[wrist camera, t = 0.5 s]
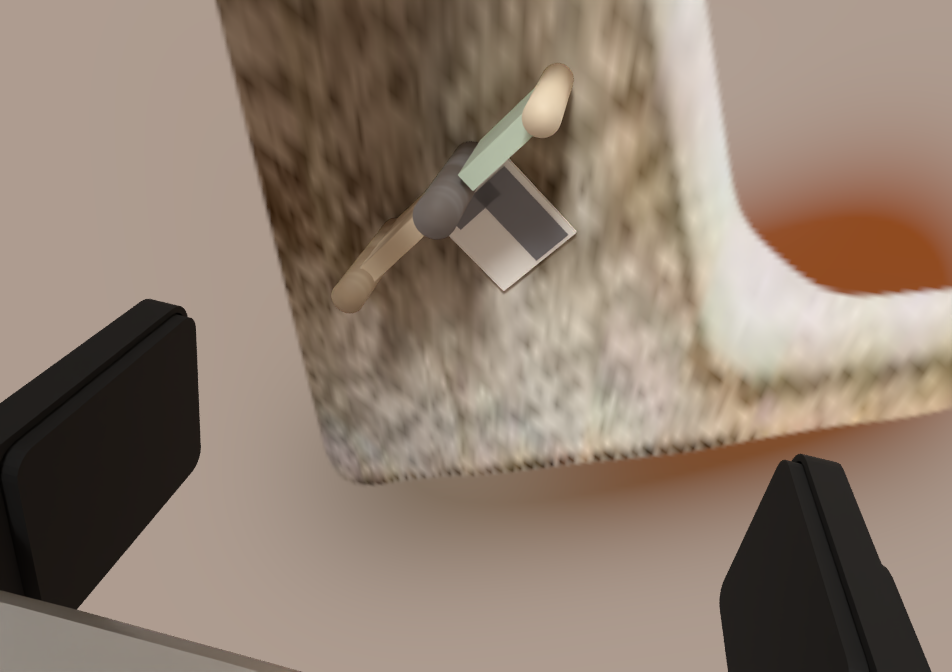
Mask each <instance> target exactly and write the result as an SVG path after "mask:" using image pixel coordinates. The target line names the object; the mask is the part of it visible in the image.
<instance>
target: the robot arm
mask: <svg viewBox="0 0 952 672" xmlns="http://www.w3.org/2000/svg"><path fill="white" fill-rule="evenodd" d="M199 421H200V420H199V394H198V369H197V346H196V326H195V322H194V320H193V319H192V318H189V317H187V313H186V311H185V309H184V308H183V307H181V306H177V305H173V304H168V303H165V302H160V301H156V300H152V299H145V300H143V301H141V302H139V303H138V304H137V305H136V306H134V307H133V308H131V309H130V310H128V311H127V312H126V313H124V314H123V315H122V316H120V317H119V318H117V319H116V320H115V321H113V322H112V323H110V324H109V325H108V326H106V327H105V328H104V329H102V330H101V331H99V332H98V333H97V334H95V335H94V336H92V337H91V338H90V339H88V340H87V341H86V342H84V343H83V344H81V345H80V346H79V347H77V348H76V349H75V350H73V351H72V352H70V353H69V354H68V355H66V356H65V357H63V358H62V359H61V360H59V361H58V362H57V363H55V364H54V365H53V366H51V367H50V368H48V369H47V370H45V371H44V372H43V373H41V374H40V375H39V376H37V377H36V378H35V379H33V380H32V381H31V382H29V383H28V384H26V385H25V386H23V387H22V388H21V389H19V390H18V391H16V392H15V393H14V394H12V395H11V396H10V397H8V398H7V399H5V400H4V401H3V402H1V403H0V672H301V671H297V670H293V669H290V668H286V667H283V666H279V665H276V664H272V663H269V662H265V661H261V660H258V659H254V658H251V657H247V656H243V655H239V654H236V653H233V652H229V651H225V650H222V649H218V648H214V647H211V646H207V645H203V644H199V643H196V642H192V641H189V640H185V639H181V638H178V637H174V636H170V635H167V634H163V633H160V632H156V631H152V630H149V629H145V628H141V627H138V626H134V625H131V624H127V623H123V622H119V621H116V620H112V619H109V618H105V617H101V616H98V615H94V614H90V613H87V612H83V611H79V610H77V608H78V607H79V606H80V605H81V604H82V603H83V601H84V600H85V599H86V598H87V597H88V595H89V594H90V593H91V592H92V591H93V589H94V588H95V587H96V586H97V585H98V584H99V582H100V581H101V580H102V579H103V577H104V576H105V575H106V574H107V573H108V572H109V570H110V569H111V568H112V567H113V566H114V564H115V563H116V562H117V561H118V560H119V558H120V557H121V556H122V555H123V554H124V552H125V551H126V550H127V549H128V548H129V546H130V545H131V544H132V543H133V542H134V540H135V539H136V538H137V537H138V535H140V533H141V532H142V531H143V530H144V529H145V527H146V526H147V525H148V524H149V523H150V521H151V520H152V519H153V518H154V517H155V515H156V514H157V513H158V512H159V511H160V509H161V508H162V507H163V506H164V505H165V503H166V502H167V501H168V500H169V499H170V498H171V496H172V495H173V494H174V493H175V492H176V490H177V489H178V488H179V487H180V486H181V484H182V483H183V482H184V481H185V480H186V478H187V477H188V476H189V475H190V474H191V472H192V471H193V470H194V468H195V466H196V464H197V462H198V459H199V456H200V450H201V445H200V444H201V443H200V422H199ZM720 614H721V620H722V629H723V636H724V643H725V652H726V659H727V666H728V672H931V670H930V667H929V665H928V663H927V660H926V658H925V656H924V653H923V650H922V648H921V645H920V643H919V641H918V638H917V636H916V634H915V631H914V628H913V626H912V624H911V621H910V619H909V617H908V614H907V612H906V609H905V607H904V604H903V602H902V599H901V597H900V594H899V592H898V590H897V587H896V585H895V582H894V580H893V577H892V576H891V574H890V572H889V571H888V569H887V568H886V567H884V566H883V565H882V564H881V561H880V559H879V557H878V554H877V552H876V549H875V547H874V544H873V542H872V539H871V537H870V534H869V532H868V529H867V527H866V524H865V522H864V519H863V517H862V514H861V512H860V510H859V507H858V504H857V502H856V499H855V497H854V495H853V492H852V489H851V487H850V485H849V482H848V480H847V477H846V475H845V472H844V470H843V468H842V466H841V464H839V463H837V462H833V461H829V460H825V459H820V458H816V457H812V456H808V455H803V454H798V455H796V456H795V457H794V459H793V460H792V461H787V460H782V461H781V462H780V463H779V465H778V466H777V468H776V470H775V473H774V475H773V477H772V479H771V481H770V483H769V485H768V487H767V490H766V492H765V494H764V496H763V498H762V500H761V502H760V505H759V507H758V509H757V511H756V513H755V515H754V517H753V520H752V522H751V524H750V526H749V528H748V530H747V532H746V535H745V537H744V539H743V541H742V543H741V545H740V548H739V550H738V552H737V554H736V556H735V558H734V560H733V562H732V564H731V567H730V569H729V571H728V573H727V575H726V577H725V580H724V582H723V585H722V588H721V592H720Z"/></svg>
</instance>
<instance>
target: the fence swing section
mask: <svg viewBox="0 0 952 672" xmlns="http://www.w3.org/2000/svg"><path fill="white" fill-rule="evenodd" d="M573 81H574V78H573V74H572V71H571V70H570V69H569V68H568V67H567V66H566V65H564V64H561V63H555V64H551V65H550V66H548V67H547V68H546V69H545V70H544V72H543V74H542V75H541V77H540V79H539V81H538V83H537V85H536V87H535V88H534V89H533V90H532V91H531V92H530V93H529V94H528V95H527V96H526V97H525V98H523V99H522V100H521V101H520V102H519V103H518V104H517V105H516V106H515V107H514V108H513V109H512V110H511V111H510V112H509V113H508V114H507V115H506V116H505V117H504V118H503V119H502V120H501V121H500V122H498V123H497V124H496V125H495V126H494V127H493V128H492V129H491V130H490V131H489V132H488V133H487V134H486V135H485V136H484V137H483V138H482V139H481V140H480V141H479V143H478V145H477V146H476V148H475V149H474V151H473V152H472V154H471V155H470V157H469V158H468V160H467V161H466V163H465V165H464V166H463V168H462V169H461V171H460V172H459V174H458V176H459V177H460V178H461V179H462V180H463V181H464V182H465V183H466V184H467V185H468V186H469V187H470V188H471V190H472V191H474V190H475V189H476V188H477V187H478V186H479V185H480V184H481V183H482V182H484V181H485V180H486V179H487V178H488V177H489V176H490V175H491V174H492V173H493V172H494V171H496V170H497V169H498V168H499V167H500V166H501V165H502V164H503V163H504V162H505V161H506V160H507V159H509V158H510V157H511V156H512V155H513V154H514V153H515V152H516V151H517V150H518V149H519V148H521V147H522V146H523V145H524V144H525V143H526V142H527V141H528V140H529V139H530V138H531V137H532V136H534V137H537V138H546V137H549V136H551V135H553V134H554V133H555V132H556V131H557V130H558V129H559V127H560V125H561V122H562V118H563V115H564V112H565V109H566V105H567V102H568V99H569V96H570V92H571V89H572V86H573Z"/></svg>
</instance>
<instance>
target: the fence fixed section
mask: <svg viewBox="0 0 952 672" xmlns="http://www.w3.org/2000/svg"><path fill="white" fill-rule="evenodd" d="M477 145H478V143H477V142H472V141H469V142H465V143H462V144H461V145H460V146H458V148H457V149H456V150H455V152H454V153H453V154H452V156H451V157H450V158H449V160H448V161H447V163H446V164H445V165H444V167H443V168H442V169H441V171H440V172H439V174H438V175H437V176H436V178H435V179H434V180H433V182H432V183H431V184H430V186H429V187H428V189H427V190H426V191H425V192H424V193H423V194H422V195H421V196H420V197H419V198H418V199H417V200H416V201H415V202H414V203H413V204H412V205H411V206H410V207H409V208H407V209H406V210H405V211H404V212H403V213H402V214H401V215H400V216H399V217H398V218H392V219H389V220H388V221H386V223H385V224H384V225H383V226H382V228H381V229H380V230H379V231H378V233H377V234H376V235H375V236H374V238H373V239H372V240H371V242H370V243H369V244H368V245H367V247H366V248H365V249H364V250H363V252H362V253H361V254H360V256H359V257H358V258H357V259H356V261H355V262H354V263H353V264H352V266H351V267H350V268H349V270H348V271H347V272H346V273H345V275H344V276H343V277H342V278H341V280H340V281H339V282H338V284H337V285H336V286H335V287H334V289H333V290H332V294H331V298H332V301H333V303H334V305H335V306H336V307H337V308H338V309H339V310H341V311H342V312H345V313H355V312H357V311H359V310H360V309H361V308H362V306H363V305H364V303H365V302H366V300H367V299H368V297H369V296H370V294H371V293H372V291H373V290H374V288H375V287H376V285H377V284H378V282H379V281H380V279H381V278H382V277H383V275H384V274H385V272H386V271H387V270H388V269H389V268H390V267H391V266H392V265H393V264H394V263H396V262H397V261H398V260H399V259H400V258H401V257H402V256H403V255H404V254H405V253H406V252H407V251H409V250H410V249H411V248H412V247H413V246H414V245H415V244H416V243H417V242H418V241H419V240H421V239H422V238H423V237H424V236H426V237H428V238H431V239H443V238H446V237H448V236H449V235H450V234H451V233H452V232H453V231H454V230H455V228H456V226H457V224H458V222H459V220H460V219H461V217H462V215H463V213H464V211H465V209H466V208H467V206H468V204H469V202H470V200H471V198H472V197H473V195H474V193H475V191H476V189H477V188H478V187H477V188H476V189H475V190H474V191H472V190H471V188H470V187H469V186H468V185H467V184H466V183H465V182H464V181H463V180H462V179H461V178H460V177H459V176H458V174H459V172H460V171H461V169H462V168H463V166H464V165H465V163H466V161H467V160H468V158H469V157H470V155H471V154H472V152H473V151H474V149H475V148H476V146H477Z"/></svg>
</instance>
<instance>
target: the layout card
mask: <svg viewBox="0 0 952 672" xmlns="http://www.w3.org/2000/svg"><path fill="white" fill-rule="evenodd" d="M575 233H576V230H575V229H574V227H573V226H572V225H571V224H570V223H569V222H568V221H567V220H566V219H565V218H564V217H563V216H562V215H561V213H560V212H559V211H558V210H557V209H556V208H555V207H554V206H553V205H552V204H551V203H550V202H549V201H548V199H547V198H546V197H545V196H544V195H543V194H542V193H541V192H540V191H539V190H538V189H537V188H536V186H535V185H534V184H533V183H532V182H531V181H530V180H529V179H528V178H527V177H526V176H525V175H524V174H523V172H522V171H521V170H520V169H519V168H518V167H517V166H516V165H515V164H514V163H513V162H512V161H511V160H510V158H509V159H507V160H506V161H505V162H504V163H503V164H502V165H501V166H500V167H499V168H498V169H497V170H496V171H494V172H493V173H492V174H491V175H490V176H489V177H488V178H487V179H486V180H485V181H484V182H482V183H481V184H480V185H479V186H478V188H477V189H476V191H475V193H474V195H473V197H472V198H471V200H470V202H469V204H468V206H467V208H466V209H465V211H464V213H463V215H462V217H461V219H460V220H459V222H458V224H457V226H456V228H455V230H454V231H453V232H452V233H451V234H450V235H449V237H450V238H451V239H452V240H453V241H454V242H455V243H456V244H457V245H458V246H459V247H460V248H461V249H462V250H463V251H464V252H465V253H466V254H467V255H468V256H469V257H470V258H471V259H472V260H473V261H474V262H475V263H476V264H477V265H478V266H479V267H480V268H481V269H482V270H483V271H484V272H485V273H486V274H487V275H488V276H489V277H490V278H491V279H492V280H493V281H494V282H495V283H496V284H497V285H498V286H499V287H500V288H501V289H502V290H503V291H505V290H506V289H507V288H508V287H510V286H511V285H512V284H513V283H515V282H516V281H517V280H518V279H520V278H521V277H522V276H523V275H525V274H526V273H527V272H528V271H530V270H531V269H532V268H533V267H534V266H536V265H537V264H538V263H539V262H541V261H542V260H543V259H544V258H546V257H547V256H548V255H549V254H551V253H552V252H553V251H554V250H556V249H557V248H558V247H559V246H561V245H562V244H563V243H564V242H565V241H567V240H568V239H569V238H570V237H572V236H573V235H574V234H575Z"/></svg>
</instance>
